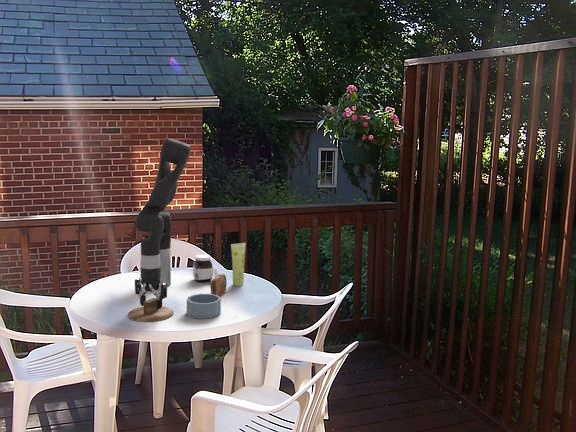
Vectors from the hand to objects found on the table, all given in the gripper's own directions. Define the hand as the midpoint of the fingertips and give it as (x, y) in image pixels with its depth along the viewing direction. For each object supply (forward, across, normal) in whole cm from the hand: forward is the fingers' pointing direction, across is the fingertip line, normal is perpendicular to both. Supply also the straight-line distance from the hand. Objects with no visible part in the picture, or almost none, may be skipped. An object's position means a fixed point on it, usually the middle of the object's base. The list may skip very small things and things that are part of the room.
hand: (151, 307), depth 227 cm
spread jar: (+3, -8, +51) cm, 52 cm away
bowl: (+3, +17, +11) cm, 20 cm away
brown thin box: (+3, +9, +34) cm, 35 cm away
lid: (+3, 0, 0) cm, 3 cm away
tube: (+3, +8, +52) cm, 53 cm away
